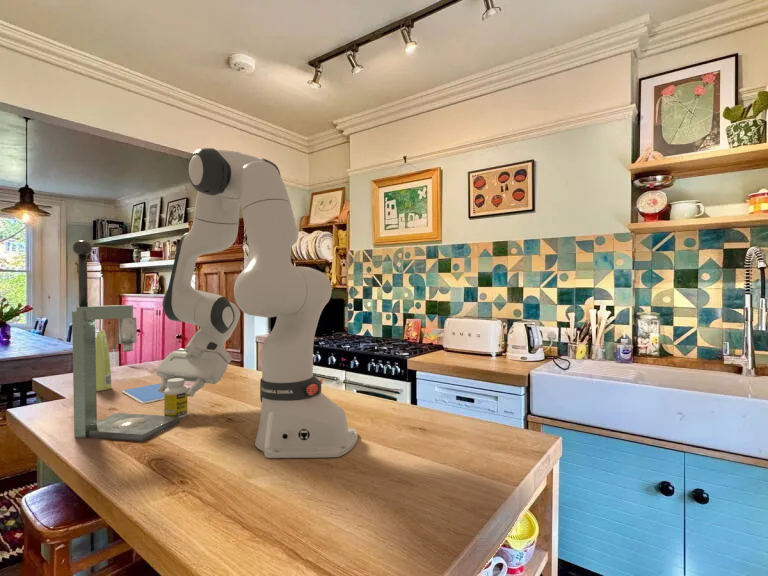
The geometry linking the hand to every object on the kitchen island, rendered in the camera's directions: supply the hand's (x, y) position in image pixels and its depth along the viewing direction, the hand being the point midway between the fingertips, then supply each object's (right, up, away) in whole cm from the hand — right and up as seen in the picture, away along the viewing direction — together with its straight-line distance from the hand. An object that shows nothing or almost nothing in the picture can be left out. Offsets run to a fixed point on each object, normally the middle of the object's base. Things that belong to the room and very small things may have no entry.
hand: (174, 393), depth 105 cm
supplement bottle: (0, -6, 0) cm, 6 cm away
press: (-6, -6, -9) cm, 12 cm away
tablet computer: (-18, -7, +22) cm, 29 cm away
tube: (-39, -6, +28) cm, 48 cm away
